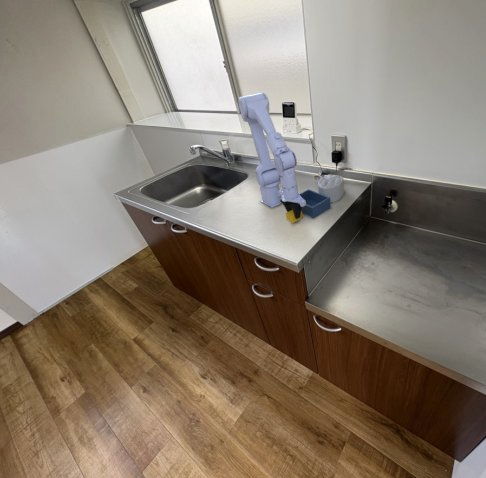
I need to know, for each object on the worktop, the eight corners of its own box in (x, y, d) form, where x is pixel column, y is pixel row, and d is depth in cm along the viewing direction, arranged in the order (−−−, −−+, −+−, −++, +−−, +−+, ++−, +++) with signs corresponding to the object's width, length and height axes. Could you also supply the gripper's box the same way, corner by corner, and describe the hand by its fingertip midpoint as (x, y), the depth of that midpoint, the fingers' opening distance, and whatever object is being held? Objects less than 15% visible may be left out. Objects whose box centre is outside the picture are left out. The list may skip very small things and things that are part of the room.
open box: (292, 208, 109) (291, 198, 106) (309, 198, 114) (308, 189, 111) (313, 218, 101) (312, 208, 98) (330, 208, 106) (330, 197, 103)
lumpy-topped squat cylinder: (346, 190, 116) (345, 173, 111) (335, 204, 107) (335, 186, 102) (325, 188, 121) (324, 171, 115) (314, 201, 112) (312, 183, 107)
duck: (286, 219, 101) (284, 208, 97) (297, 213, 103) (296, 202, 100) (293, 223, 98) (291, 211, 95) (304, 217, 101) (302, 205, 97)
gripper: (269, 183, 94) (275, 214, 102) (293, 195, 85) (298, 227, 93) (283, 177, 97) (288, 206, 106) (308, 187, 88) (312, 218, 96)
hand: (294, 215), depth 100 cm, fingers closed on duck, 4 cm apart
